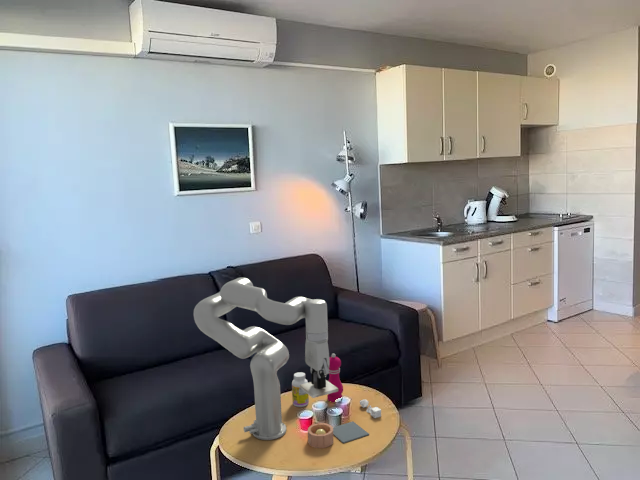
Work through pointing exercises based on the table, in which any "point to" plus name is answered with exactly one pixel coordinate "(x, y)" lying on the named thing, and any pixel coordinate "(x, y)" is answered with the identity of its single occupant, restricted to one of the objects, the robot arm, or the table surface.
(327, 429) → the bowl
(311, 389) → the lid
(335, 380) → the pepper mill
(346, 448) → the table surface
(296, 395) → the supplement bottle
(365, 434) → the mat
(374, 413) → the game pieces
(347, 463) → the table surface
